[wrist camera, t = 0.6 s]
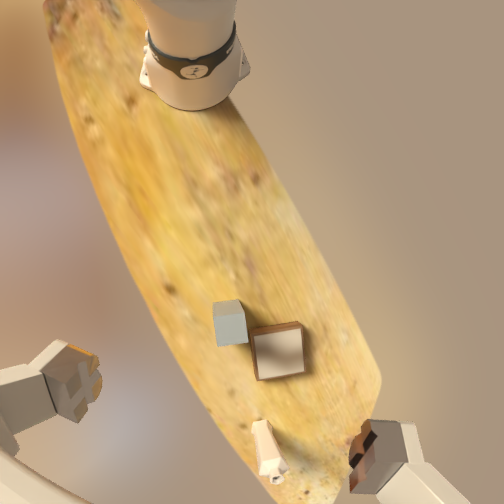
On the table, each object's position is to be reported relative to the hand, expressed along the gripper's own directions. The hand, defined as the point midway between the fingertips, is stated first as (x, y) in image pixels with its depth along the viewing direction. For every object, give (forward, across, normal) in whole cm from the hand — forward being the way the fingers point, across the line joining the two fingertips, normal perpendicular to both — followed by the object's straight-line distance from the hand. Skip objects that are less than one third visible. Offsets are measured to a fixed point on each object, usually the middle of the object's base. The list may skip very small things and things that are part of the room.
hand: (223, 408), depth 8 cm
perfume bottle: (+32, -3, +40) cm, 51 cm away
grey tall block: (+37, +6, +20) cm, 42 cm away
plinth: (+37, -2, +25) cm, 45 cm away
